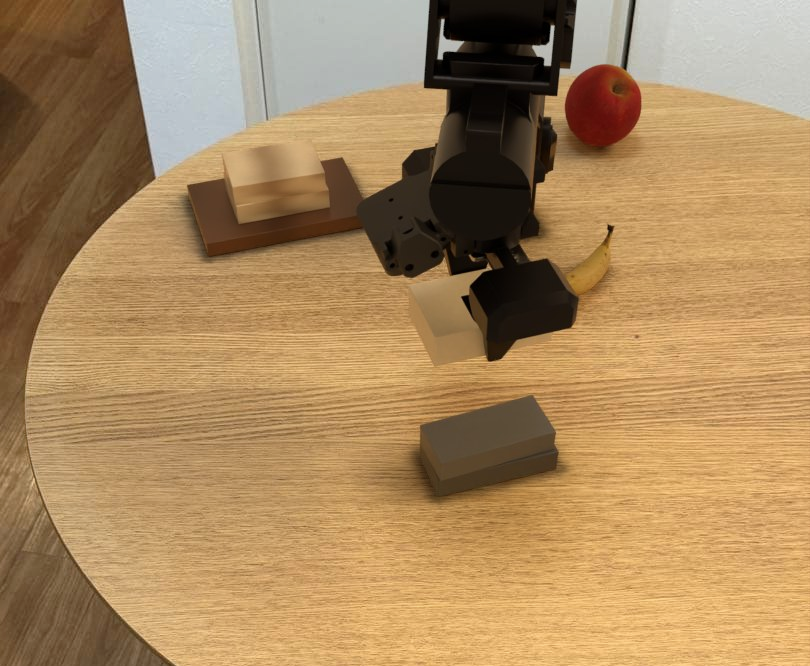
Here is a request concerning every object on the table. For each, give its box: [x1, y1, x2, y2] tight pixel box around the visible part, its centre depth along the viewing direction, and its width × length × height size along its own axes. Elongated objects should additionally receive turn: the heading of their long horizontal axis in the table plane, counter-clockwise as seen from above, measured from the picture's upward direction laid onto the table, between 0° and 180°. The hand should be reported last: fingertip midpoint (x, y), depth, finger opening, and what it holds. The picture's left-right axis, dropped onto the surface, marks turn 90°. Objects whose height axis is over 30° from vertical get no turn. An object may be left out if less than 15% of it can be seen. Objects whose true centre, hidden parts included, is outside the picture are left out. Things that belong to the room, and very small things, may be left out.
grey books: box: [419, 394, 559, 498], centre depth 91 cm, size 10×5×4 cm, turn 107°
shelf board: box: [186, 138, 365, 257], centre depth 112 cm, size 16×10×6 cm, turn 108°
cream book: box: [408, 267, 554, 368], centre depth 83 cm, size 9×6×3 cm, turn 108°
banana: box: [564, 223, 615, 296], centre depth 105 cm, size 10×2×4 cm, turn 149°
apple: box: [564, 63, 642, 148], centre depth 119 cm, size 8×8×8 cm
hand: (478, 331), depth 85 cm, fingers closed on cream book, 6 cm apart
